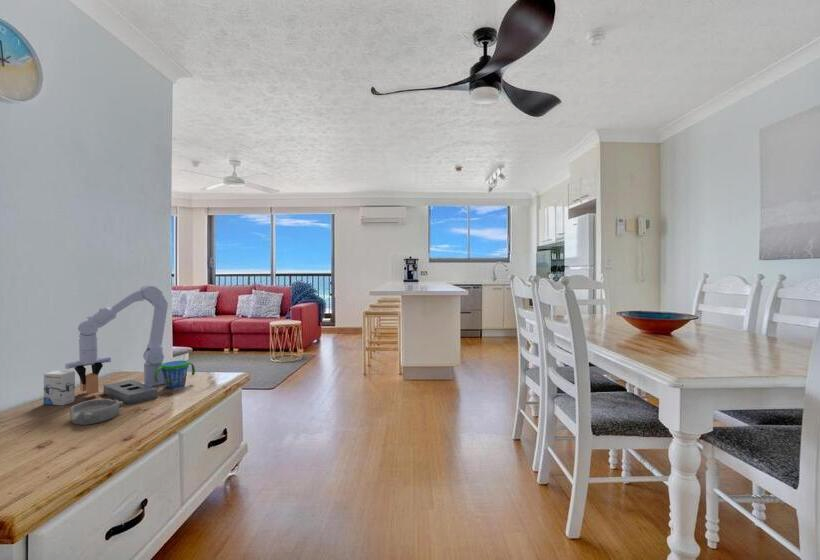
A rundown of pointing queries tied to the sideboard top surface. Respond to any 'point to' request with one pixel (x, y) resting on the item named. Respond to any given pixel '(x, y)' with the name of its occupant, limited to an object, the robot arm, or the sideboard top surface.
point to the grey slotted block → (130, 391)
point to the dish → (94, 411)
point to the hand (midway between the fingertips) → (89, 382)
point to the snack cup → (174, 373)
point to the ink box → (59, 387)
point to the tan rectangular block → (90, 383)
